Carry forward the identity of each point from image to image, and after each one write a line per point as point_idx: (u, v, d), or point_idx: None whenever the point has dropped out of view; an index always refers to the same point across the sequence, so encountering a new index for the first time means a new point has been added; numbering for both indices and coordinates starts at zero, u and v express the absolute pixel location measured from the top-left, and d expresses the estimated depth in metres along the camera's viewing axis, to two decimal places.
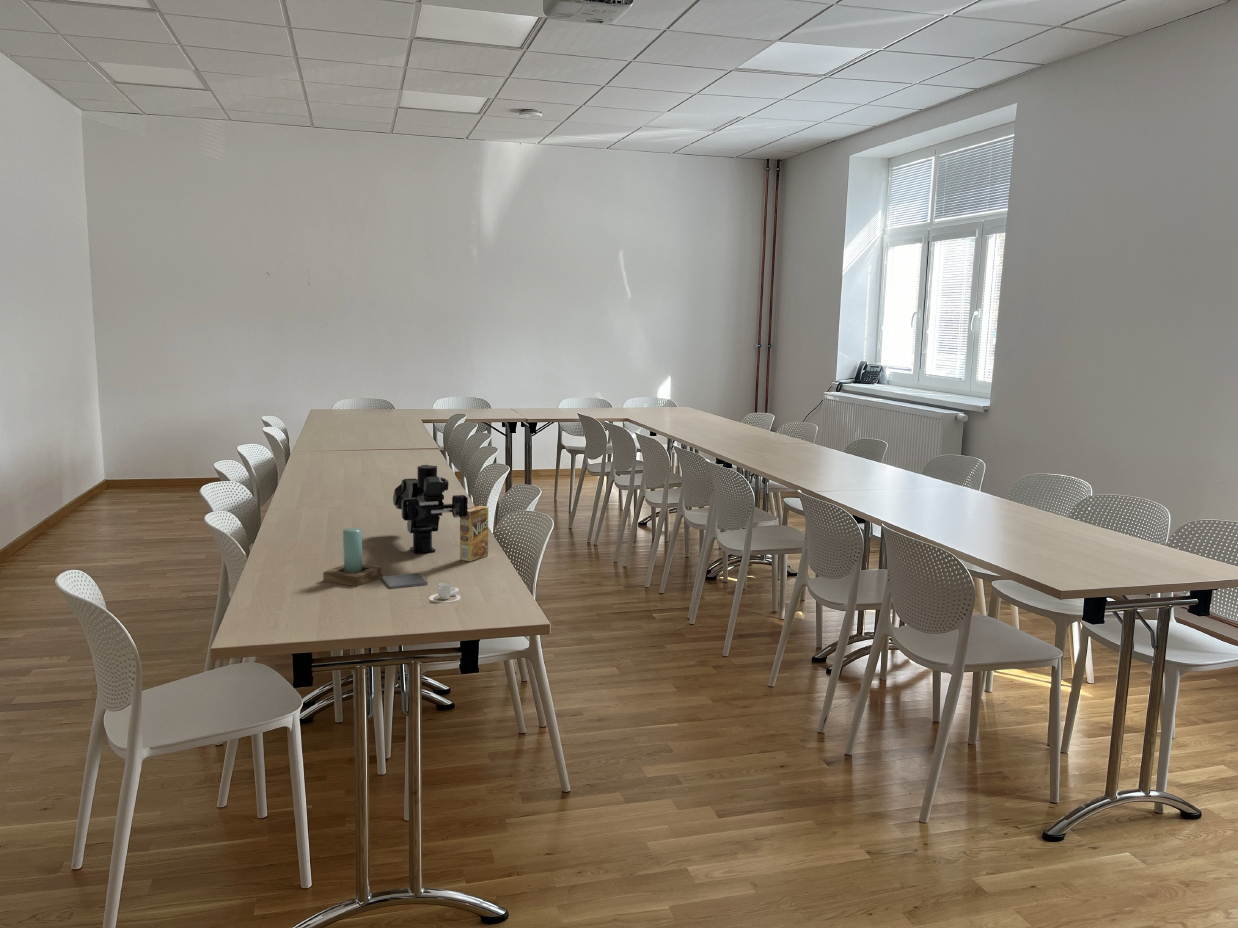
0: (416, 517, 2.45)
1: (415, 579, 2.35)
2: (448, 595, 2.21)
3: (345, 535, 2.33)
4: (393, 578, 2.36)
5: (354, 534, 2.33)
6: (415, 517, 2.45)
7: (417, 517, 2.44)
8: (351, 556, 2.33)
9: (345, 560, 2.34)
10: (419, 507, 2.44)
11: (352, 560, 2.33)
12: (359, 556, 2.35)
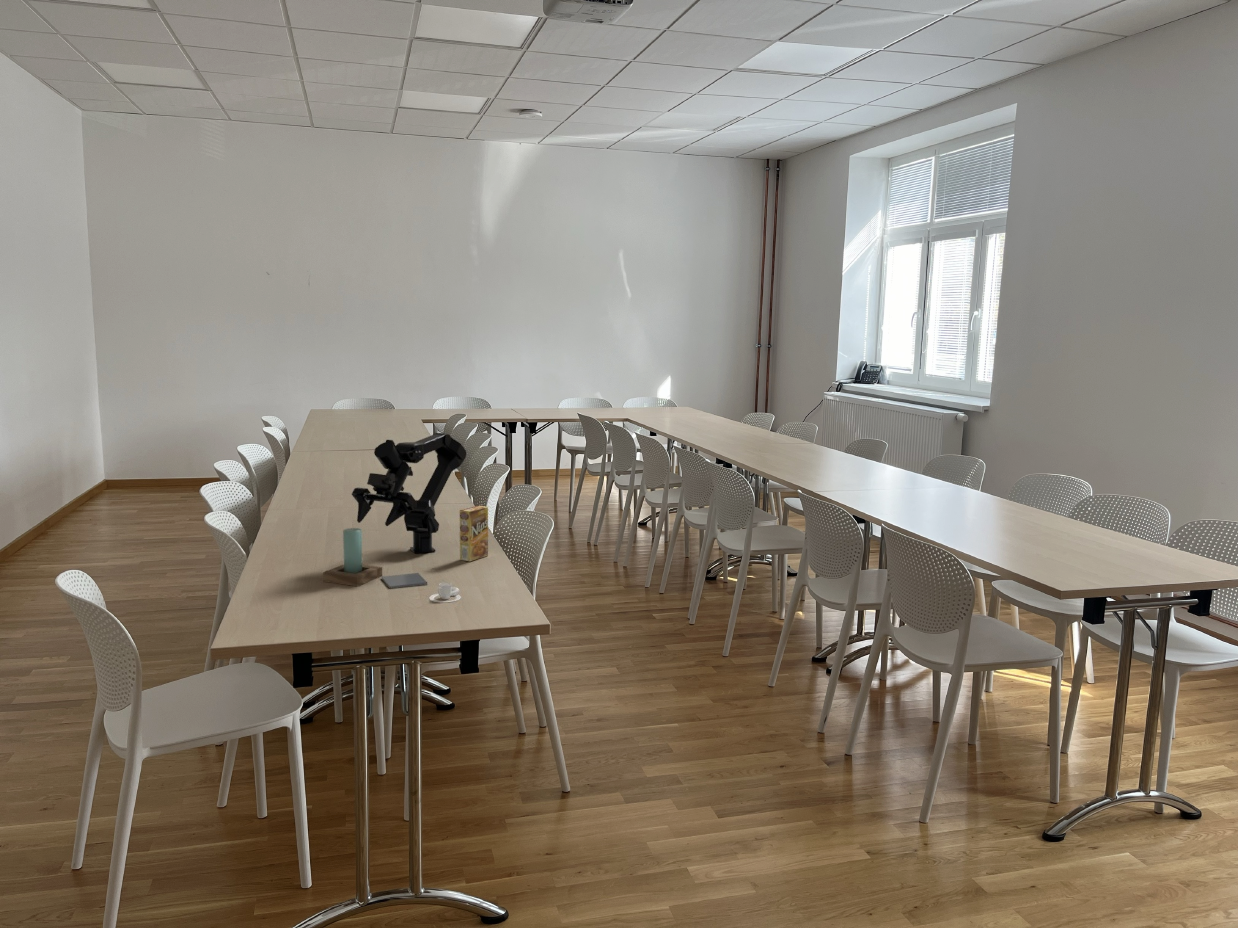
0: None
1: (415, 579, 2.35)
2: (448, 595, 2.21)
3: (345, 535, 2.33)
4: (393, 578, 2.36)
5: (354, 534, 2.33)
6: None
7: None
8: (351, 556, 2.33)
9: (345, 560, 2.34)
10: (360, 506, 2.46)
11: (352, 560, 2.33)
12: (359, 556, 2.35)
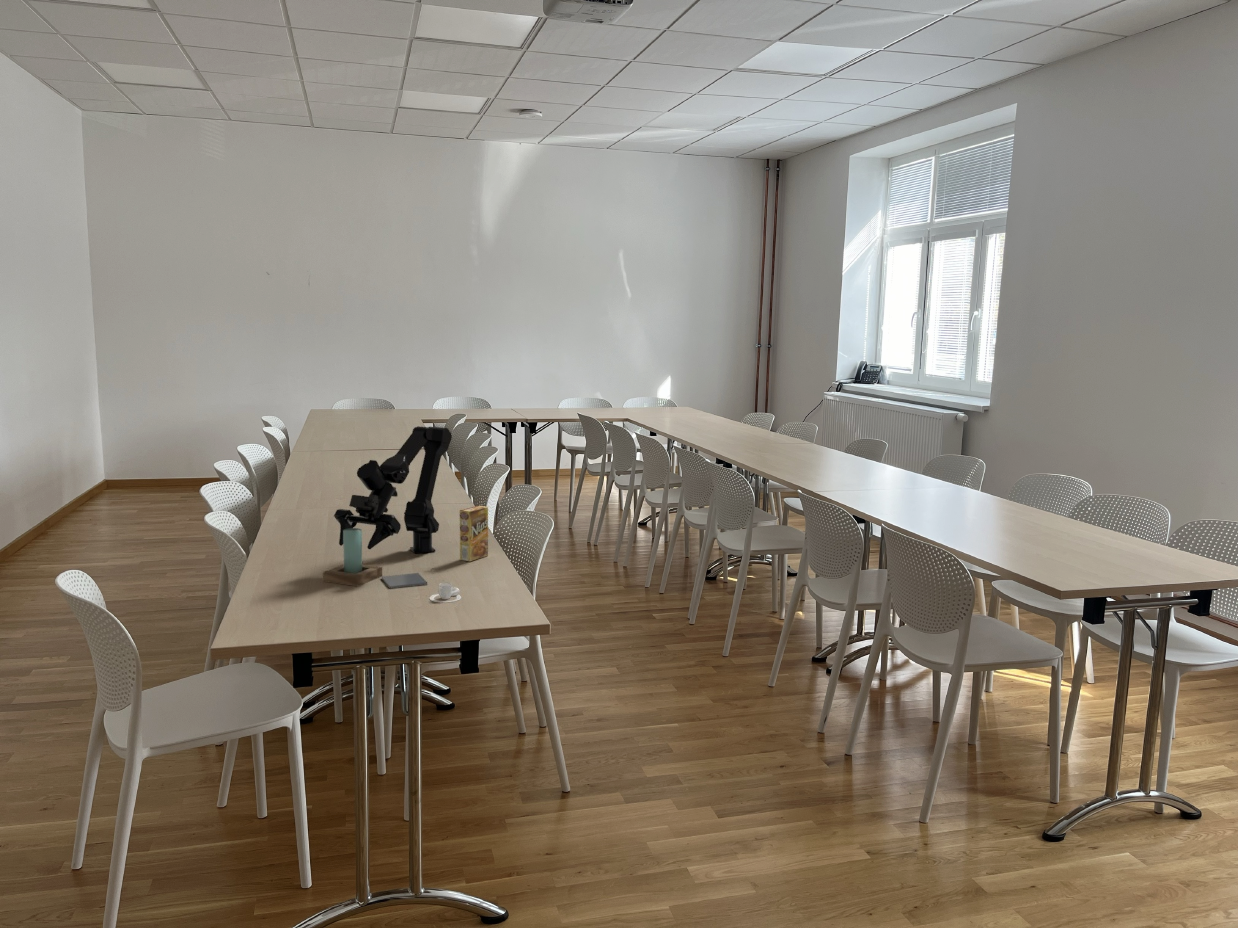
0: None
1: (415, 579, 2.35)
2: (449, 595, 2.21)
3: (345, 535, 2.33)
4: (393, 578, 2.36)
5: (354, 534, 2.33)
6: None
7: None
8: (351, 556, 2.33)
9: (345, 560, 2.34)
10: (342, 529, 2.39)
11: (352, 560, 2.33)
12: (359, 556, 2.35)
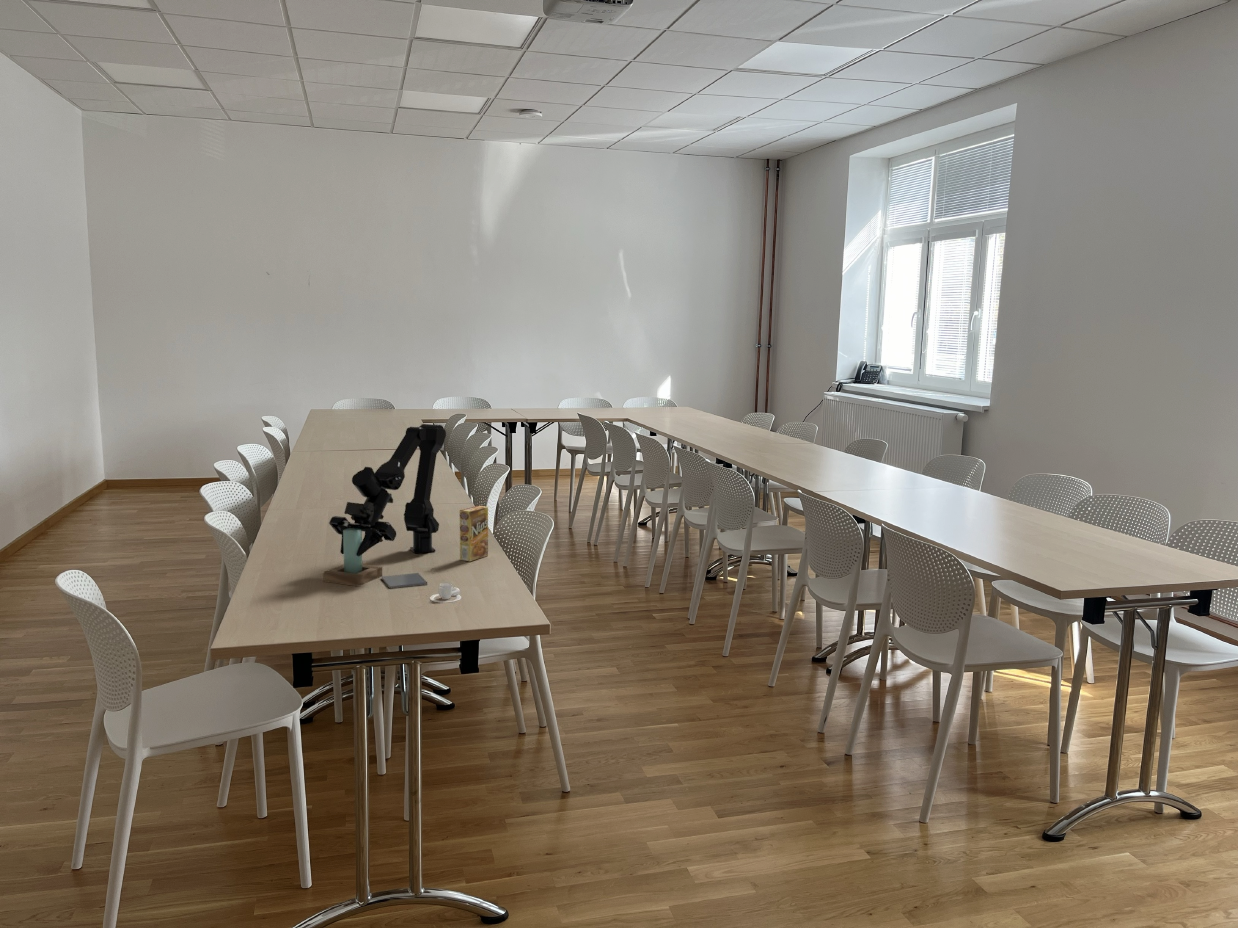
0: None
1: (415, 579, 2.35)
2: (449, 595, 2.21)
3: (345, 535, 2.33)
4: (393, 578, 2.36)
5: (354, 534, 2.33)
6: None
7: None
8: (351, 556, 2.33)
9: (345, 560, 2.34)
10: None
11: (352, 560, 2.33)
12: (359, 556, 2.35)
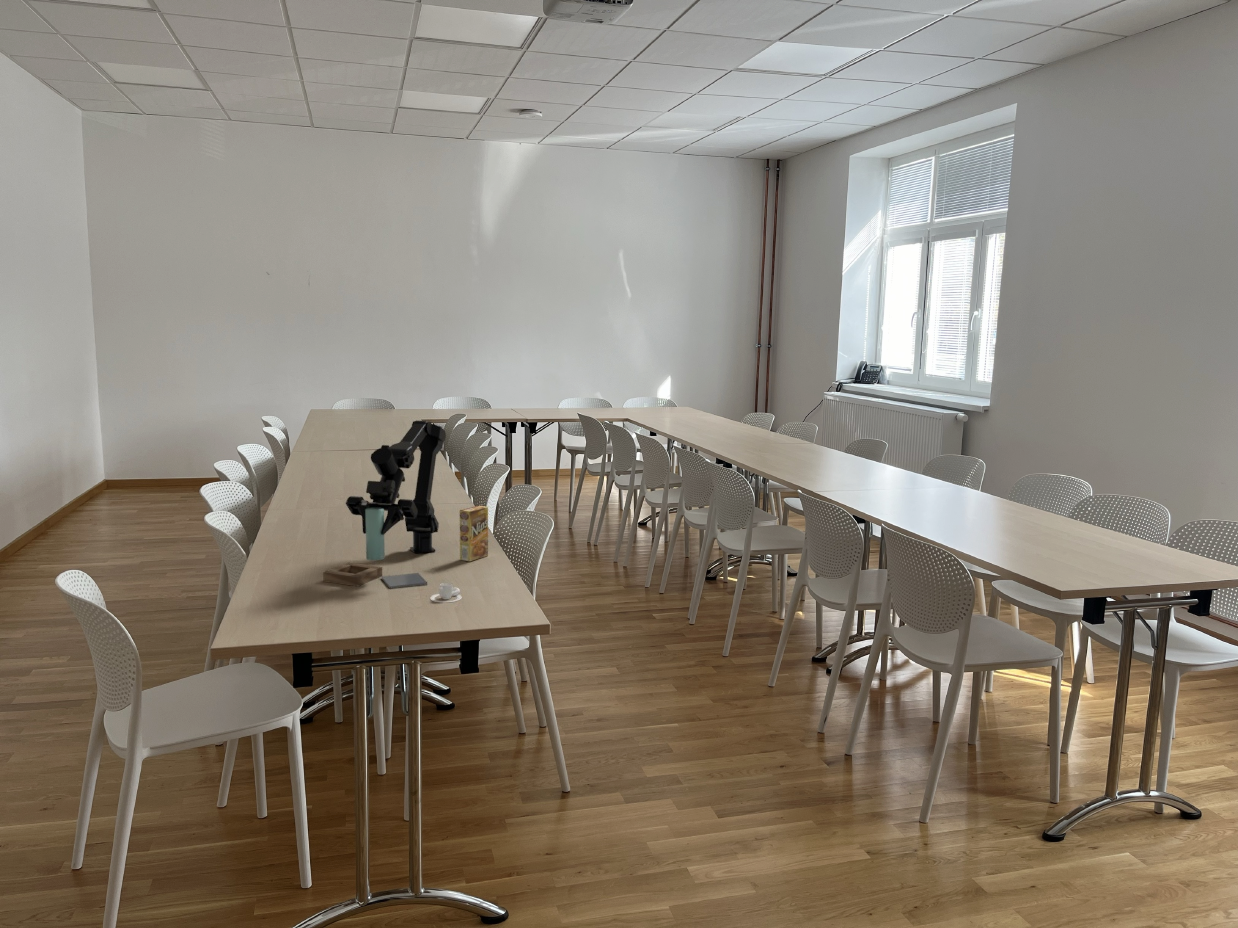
0: None
1: (415, 579, 2.35)
2: (449, 595, 2.21)
3: (369, 514, 2.30)
4: (393, 578, 2.36)
5: (379, 512, 2.30)
6: None
7: None
8: (375, 535, 2.31)
9: (369, 539, 2.31)
10: (364, 516, 2.34)
11: (376, 539, 2.31)
12: (383, 535, 2.33)
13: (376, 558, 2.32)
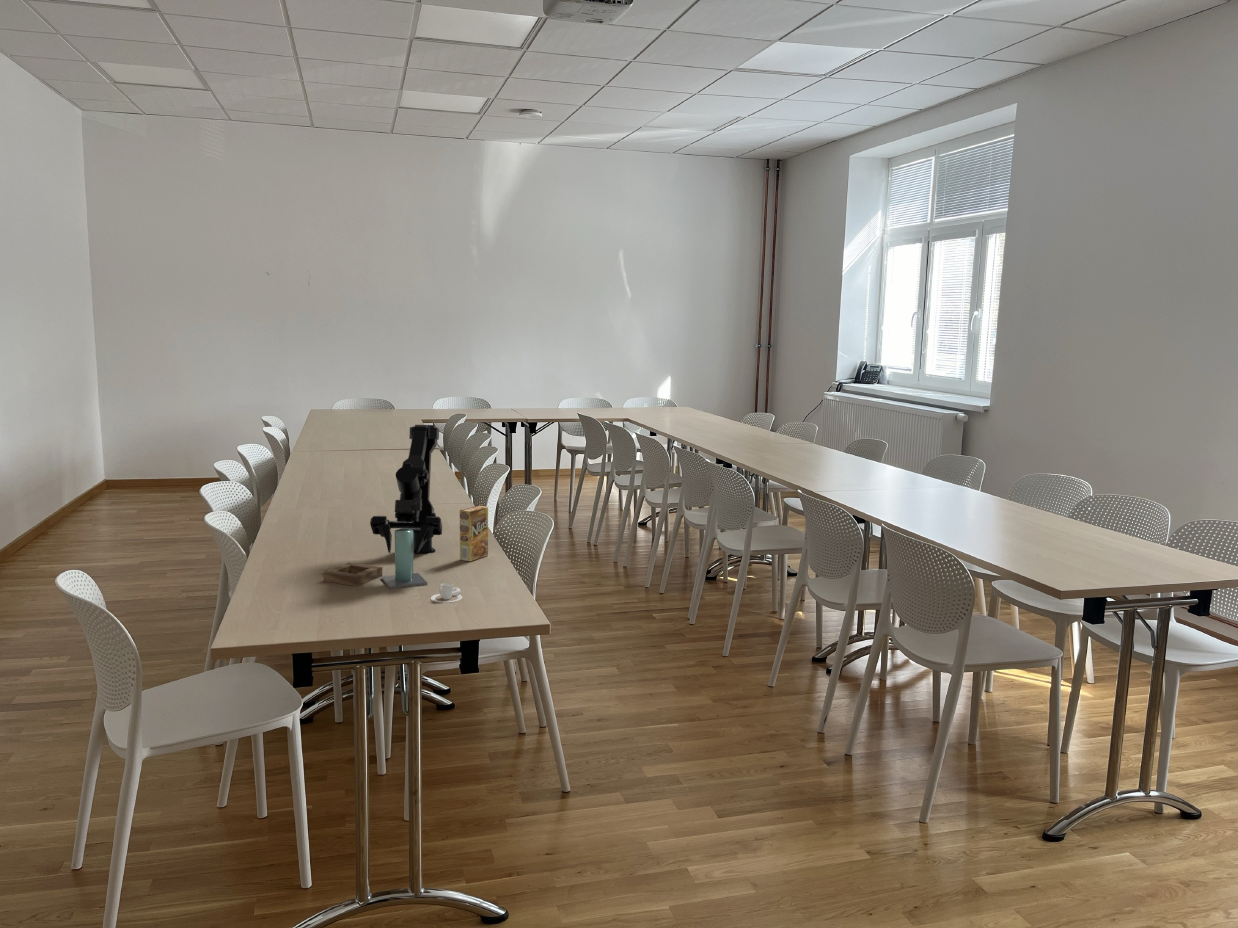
0: (386, 540, 2.36)
1: (415, 579, 2.35)
2: (450, 595, 2.21)
3: (400, 536, 2.31)
4: (393, 578, 2.36)
5: (410, 534, 2.32)
6: (385, 539, 2.36)
7: None
8: (406, 556, 2.32)
9: (399, 561, 2.32)
10: (387, 535, 2.34)
11: (407, 560, 2.32)
12: None
13: (407, 579, 2.33)
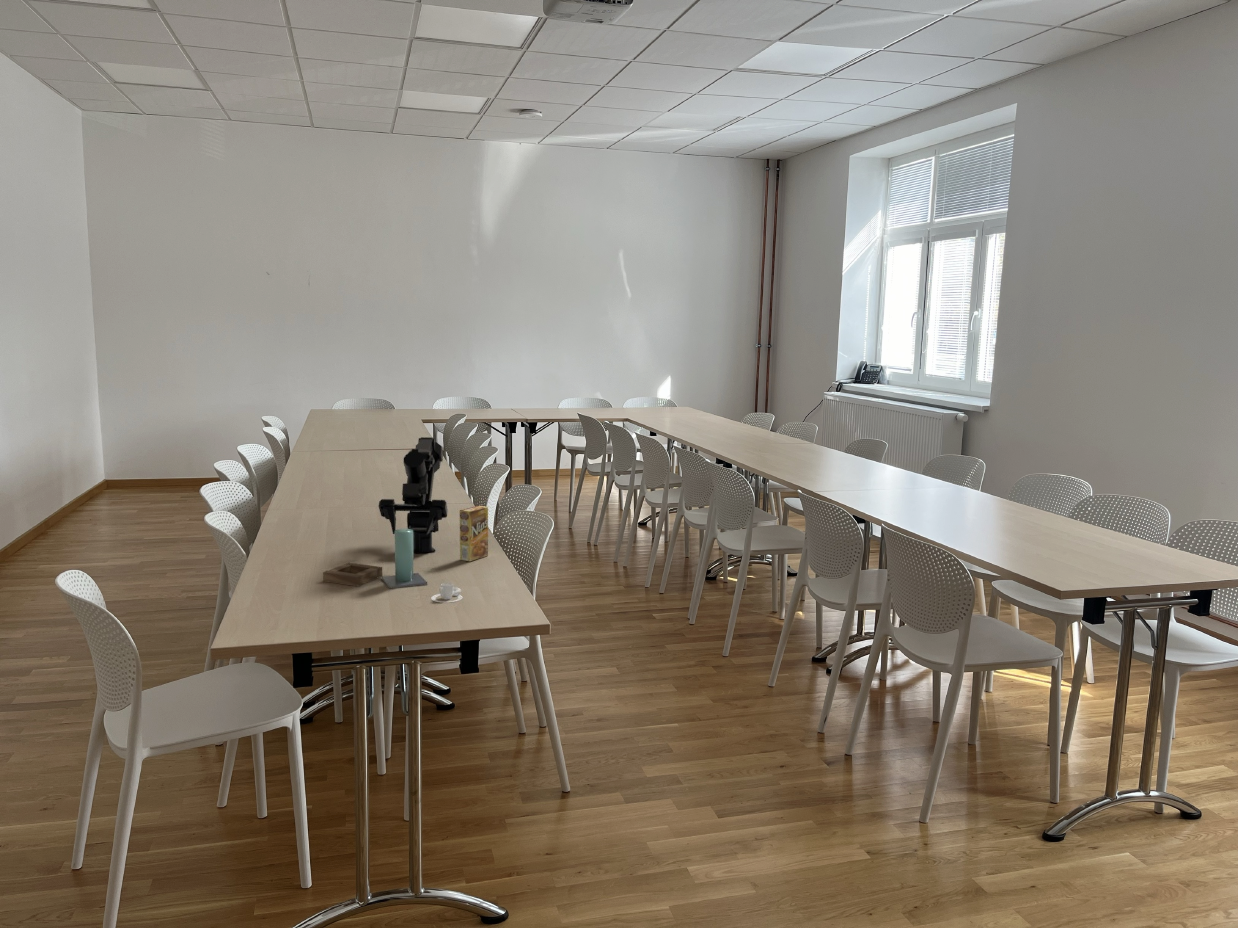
0: (390, 522, 2.46)
1: (415, 579, 2.35)
2: (450, 595, 2.21)
3: (400, 536, 2.31)
4: (393, 578, 2.36)
5: (410, 534, 2.32)
6: (390, 521, 2.47)
7: None
8: (406, 556, 2.32)
9: (399, 561, 2.32)
10: (392, 518, 2.44)
11: (407, 560, 2.32)
12: None
13: (407, 579, 2.33)
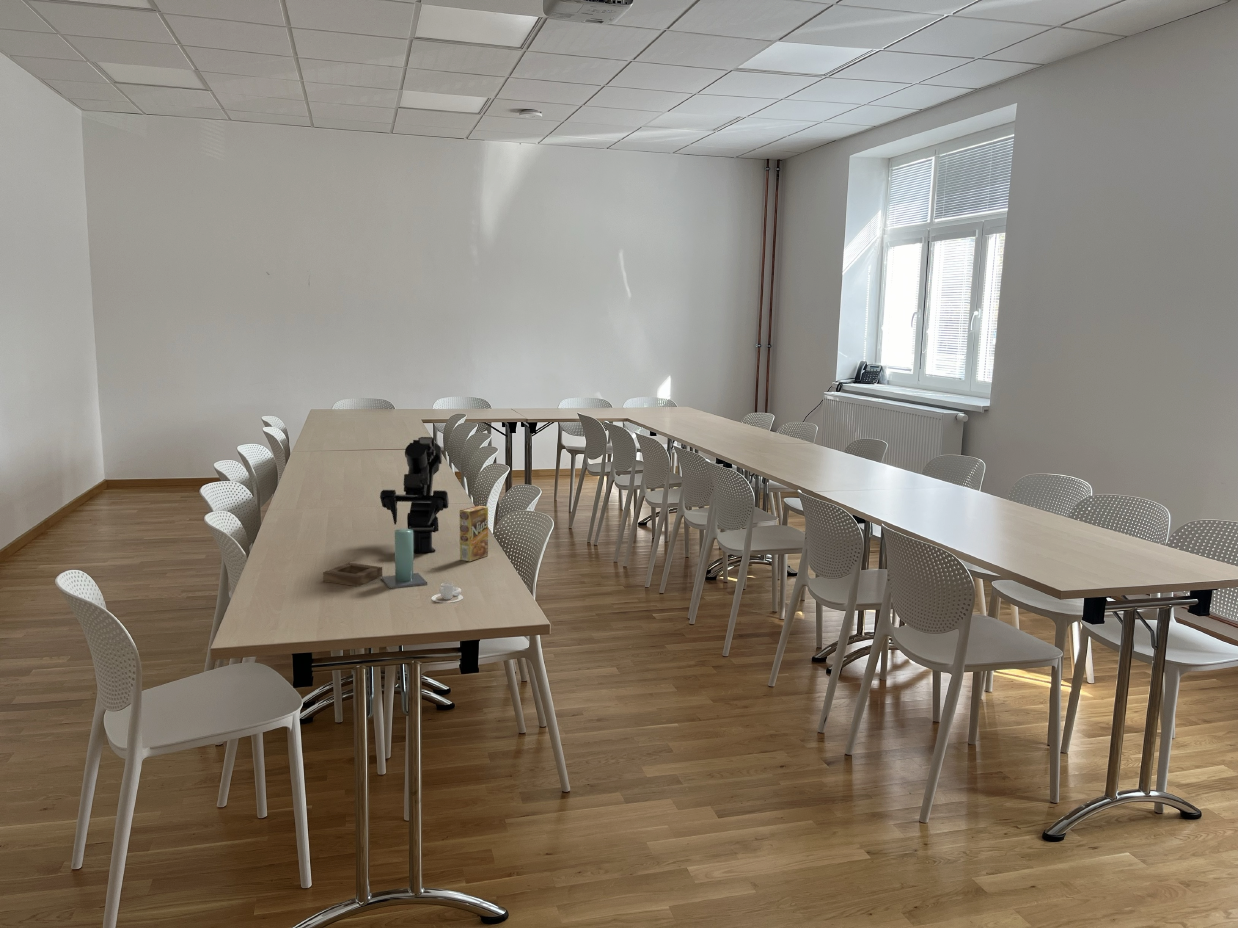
0: (392, 513, 2.47)
1: (415, 579, 2.35)
2: (450, 595, 2.21)
3: (400, 536, 2.31)
4: (393, 578, 2.36)
5: (410, 534, 2.32)
6: (391, 512, 2.47)
7: None
8: (406, 556, 2.32)
9: (399, 561, 2.32)
10: (393, 508, 2.45)
11: (407, 560, 2.32)
12: None
13: (407, 579, 2.33)
